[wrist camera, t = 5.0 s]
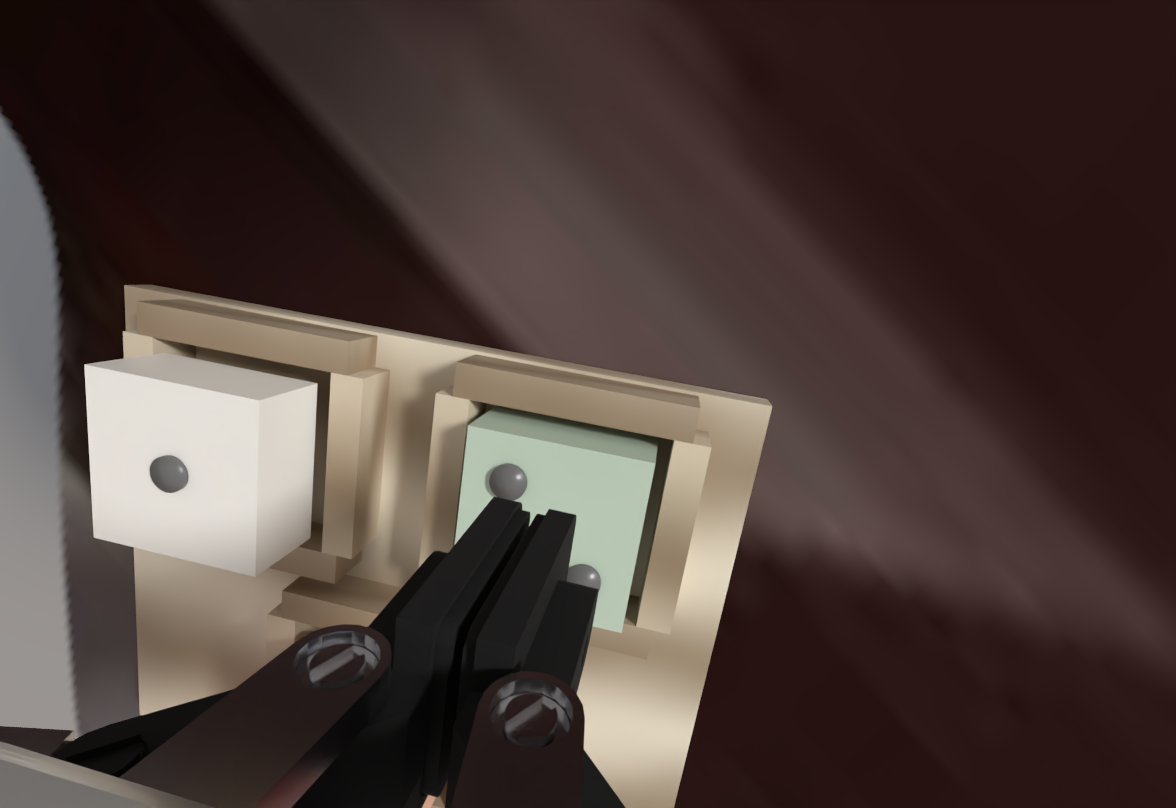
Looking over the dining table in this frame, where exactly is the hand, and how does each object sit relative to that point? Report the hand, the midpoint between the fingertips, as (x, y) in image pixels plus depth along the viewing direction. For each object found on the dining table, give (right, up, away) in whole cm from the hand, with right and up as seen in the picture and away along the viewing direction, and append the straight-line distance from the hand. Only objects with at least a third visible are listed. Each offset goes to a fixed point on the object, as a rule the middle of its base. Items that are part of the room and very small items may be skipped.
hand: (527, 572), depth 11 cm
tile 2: (0, 0, +6) cm, 6 cm away
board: (-5, -3, +9) cm, 11 cm away
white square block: (-10, +2, +6) cm, 12 cm away
